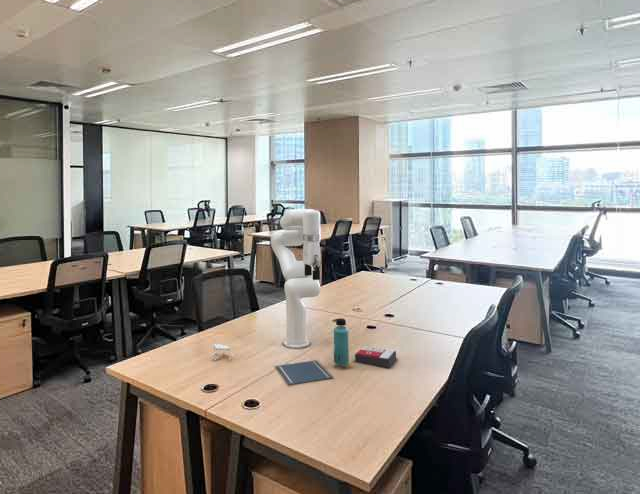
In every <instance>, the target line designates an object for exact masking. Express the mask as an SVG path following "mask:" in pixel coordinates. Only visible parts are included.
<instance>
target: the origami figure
mask: <svg viewBox="0 0 640 494" xmlns="http://www.w3.org/2000/svg"><path fill="white" fill-rule="evenodd" d="M213 350H214V351H213V352H212V354H211V357H214V358H215V359H213V361H217V360H218V359H219V357H218V356H217V352H218V351H223V352H222V355H223V356H225V352H226V351H229V352H230V355H231V356H229V357H228V362H230V360H231V359H232V357H233V356H234V354H233V352H232V349H231V348H230V347H229V346H228V345H225V344H222V343H221V344H220V343H219V344H218V343H215V344H214V343H213Z"/></svg>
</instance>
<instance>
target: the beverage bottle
mask: <svg viewBox="0 0 640 494" xmlns="http://www.w3.org/2000/svg"><path fill="white" fill-rule="evenodd" d="M335 321H336V322H335V325H336V327H334V328H333V362H334V364H335V365H336V366H338V367H339V366H340V367H345V366H348V365H349V363H350V352H349V351H350V347H349V328H348V327H347V326H346V325H347V322H346V321H347V320H346V319H345V318H341V317H340V318H336V320H335Z"/></svg>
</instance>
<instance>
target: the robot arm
mask: <svg viewBox="0 0 640 494" xmlns="http://www.w3.org/2000/svg"><path fill="white" fill-rule="evenodd" d="M279 225H280V227H281V229H283V230H277V231H274V232H273V233H272V234H271V236H270V245H271V249H272V251H273V253H274V254H275V256H276V258H277V260H278V262H279V266H280V269H281V273H282V276H283V278H284V279H285V280H286V281H285V283H284V286H283V288H284V295H285V305H286V306H285V309H286V338H285V339H284V340H283V345H284V346H285V347H287V348H291V349H302V348H306V347H308V346H309V345H310V340H309V339H308V338H307V307H306V305H305V303H304V302H303V301H302V299H305V298H306V299H307V298H315V297H317V296H319V295H320V293H321V284H320V280H321V267H322V266H321V263H322V262H321V246H320V243H321V211H320V210H319V209H314V208H292V209H287V210H285V211H284V213H283V215H282V217H280V220H279ZM299 246H300V247H301V246H302V260H297V259H296V256H295V254H294V252H293V251H292V250H291V249H289V248H288V247H299Z"/></svg>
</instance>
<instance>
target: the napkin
mask: <svg viewBox="0 0 640 494" xmlns="http://www.w3.org/2000/svg"><path fill="white" fill-rule="evenodd" d="M275 367H276V369H277V370H278V372H280V374H281V376H282V377H283V378H284V379H283V380H285V382H286V383H287V384H288V385H289V386H293V385H299V384H306V383H312V382H318V381H324V380H331V379H333V376H332V375H331V374H330V373H329V372H328V371H327V370H326V369H325V367H323V366H322V365H321V364H320V363H319V362H318V361H317V360H310V361H304V362H303V361H302V362H296V363H289V364H283V365H281V364H280V365H276V366H275Z"/></svg>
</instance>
